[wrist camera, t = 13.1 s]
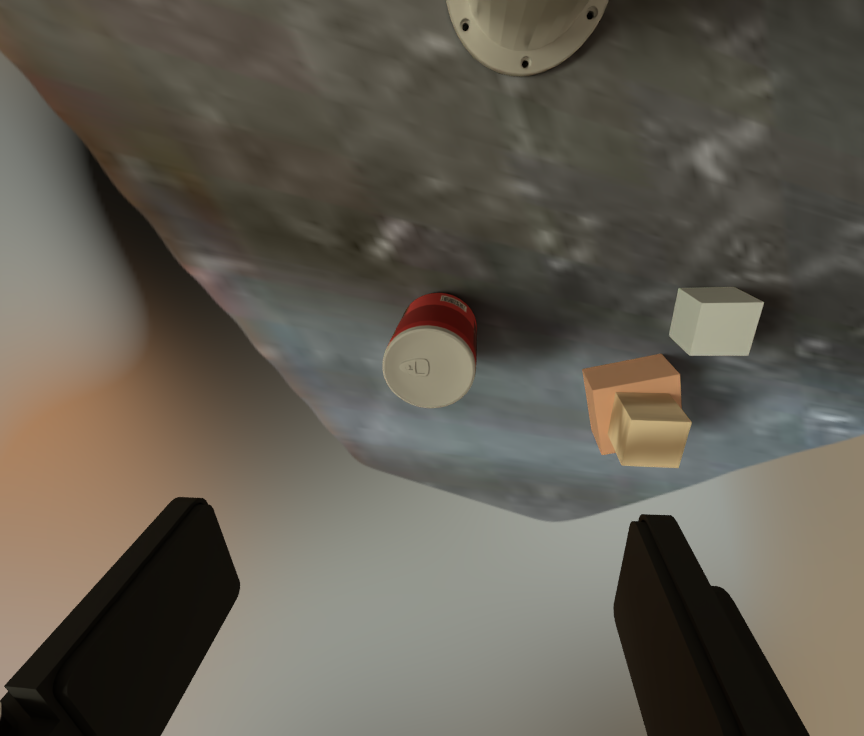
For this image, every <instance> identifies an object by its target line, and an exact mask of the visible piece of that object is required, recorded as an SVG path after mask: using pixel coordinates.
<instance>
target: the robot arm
mask: <svg viewBox="0 0 864 736" xmlns="http://www.w3.org/2000/svg"><path fill="white" fill-rule="evenodd" d="M608 1H609V0H446V2H447V6H448V11H449V15H450V18H451V21H452V23H453V26H454V29H455V32H456V33H457V35H458V37H459V39H460V40H461V42H462V44H463V46H464V47H465V48H466V49H467V50H468V52H469V53H470V54H471V55H472V56H473V57H474V58H475V59H476V60H477V61H478V62H480V63H481V64H482V65H484V66H485V67H486V68H489V69H491V70H493V71H495V72H497V73H499V74H504V75H509V76H531V75H535V74H539V73H543V72H545V71H547V70H549V69H551V68H554V67H556V66H558V65H559V64H561V63H562V62H563V61H565V60H566V59H567V58H569V57H570V56H572V55H573V54H574V52H575V51H577V50H578V49H579V48H580V47H581V46H582V44H583V43H584V42H585V41H586V40H587V38H588V37H589V36H590V35H591V33H592V32H593V31H594V29H595V27H596V26H597V24H598V23H599V21H600V19H601V17H602V15H603V13H604V11H605V8H606V6H607V4H608ZM587 13H592V16H593V17H592V19H591V20H588V19H587ZM465 24H467V25H468V26H469V29H468V30H467V31H464V30H463V29H462V28H463V26H464V25H465ZM524 61H527V62H528V67H527V68H523V66H522V63H523V62H524ZM239 590H240V581H239V579H238V576H237V573H236V570H235V567H234V565H233V562H232V559H231V557H230V554H229V551H228V548H227V545H226V543H225V540H224V537H223V534H222V532H221V529H220V526H219V523H218V521H217V518H216V515H215V513H214V509H213V508H212V506H211V505H208V503H207V502H206V500H205V499H203V498H188V497H178V498H175V499H174V500H172V501H171V502H170V503H169V504H168V505H167V506H166V508H165V509H164V510H163V511H162V512H161V513H160V514H159V516H157V518H156V519H155V520H154V521H153V522H152V523H151V524H150V525H149V527H147V529H146V530H145V531H144V532H143V533H142V534H141V535H140V536H139V537H138V539H137V540H136V541H135V542H134V543H133V544H132V546H130V548H129V549H128V550H127V551H126V552H125V553H124V554H123V555H122V556H121V558H119V560H118V561H117V562H116V563H115V564H114V565H113V567H111V569H110V570H109V571H108V572H107V573H106V574H105V575H104V576H103V577H102V578H101V580H100V581H99V582H98V583H97V584H96V585H95V586H94V587H93V589H91V591H90V592H89V593H88V594H87V595H86V596H85V597H84V598H83V600H82V601H81V602H80V603H79V604H78V605H77V606H76V607H75V608H74V609H73V611H72V612H71V613H70V614H69V615H68V616H67V617H66V618H65V619H64V620H63V622H62V623H61V624H60V625H59V626H58V627H57V628H56V629H55V630H54V632H53V633H52V634H51V635H50V636H49V637H48V638H47V639H46V640H45V642H44V643H43V644H42V645H41V646H40V647H39V648H38V649H37V650H36V652H35V653H34V654H33V655H32V656H31V657H30V658H29V659H28V660H27V662H26V663H25V664H24V665H23V666H22V667H21V668H20V669H19V671H17V672H16V674H15V675H14V676H13V677H12V678H11V679H10V680H9V681H8V682H7V684H6V685H5V686H4V687H5V688H6V689H7V690H8V692H7V693H6V695H5V696H4V697H3V698H2V699H1V700H0V736H161V734H162V732H163V731H164V729H165V727H166V725H167V723H168V721H169V720H170V718H171V716H172V714H173V713H174V711H175V709H176V707H177V705H178V704H179V702H180V700H181V698H182V696H183V694H184V693H185V691H186V689H187V687H188V685H189V684H190V682H191V680H192V678H193V676H194V675H195V673H196V671H197V669H198V668H199V666H200V664H201V662H202V660H203V659H204V657H205V655H206V653H207V651H208V650H209V648H210V646H211V644H212V642H213V641H214V639H215V637H216V635H217V633H218V632H219V630H220V628H221V626H222V624H223V623H224V621H225V619H226V617H227V615H228V614H229V612H230V610H231V608H232V606H233V605H234V603H235V601H236V599H237V597H238V594H239ZM614 618H615V623H616V627H617V630H618V634H619V637H620V641H621V644H622V648H623V651H624V655H625V658H626V661H627V665H628V669H629V672H630V676H631V679H632V683H633V686H634V690H635V693H636V697H637V700H638V704H639V707H640V710H641V714H642V717H643V721H644V725H645V728H646V732H647V735H648V736H810V735H809V733H808V732H807V730H806V728H805V726H804V725H803V723H802V721H801V719H800V717H799V716H798V714H797V712H796V710H795V709H794V707H793V705H792V703H791V702H790V700H789V698H788V696H787V694H786V693H785V691H784V689H783V687H782V686H781V684H780V682H779V680H778V679H777V677H776V675H775V673H774V671H773V670H772V668H771V666H770V664H769V663H768V661H767V659H766V657H765V656H764V654H763V652H762V650H761V649H760V647H759V645H758V643H757V642H756V640H755V638H754V636H753V634H752V633H751V631H750V629H749V628H748V626H747V624H746V622H745V620H744V618H743V617H742V615H741V613H740V611H739V610H738V608H737V606H736V604H735V603H734V601H733V600H732V598H731V597H730V595H729V594H728V593H727V592H726V591H725V590H724V589H723V588H721V587H718V586H711V585H710V584H709V582H708V579H707V578H706V576H705V574H704V572H703V570H702V568H701V567H700V564H699V563H698V561H697V559H696V557H695V555H694V553H693V551H692V549H691V548H690V546H689V544H688V542H687V540H686V538H685V537H684V534H683V533H682V531H681V529H680V527H679V525H678V523H677V522H676V520H675V519H674V517H672V516H671V515H645V514H642V515H641V516H640V517H639V521H632V522H631V523H630V527H629V532H628V537H627V542H626V547H625V551H624V557H623V561H622V567H621V571H620V576H619V581H618V586H617V591H616V596H615V601H614Z"/></svg>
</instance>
